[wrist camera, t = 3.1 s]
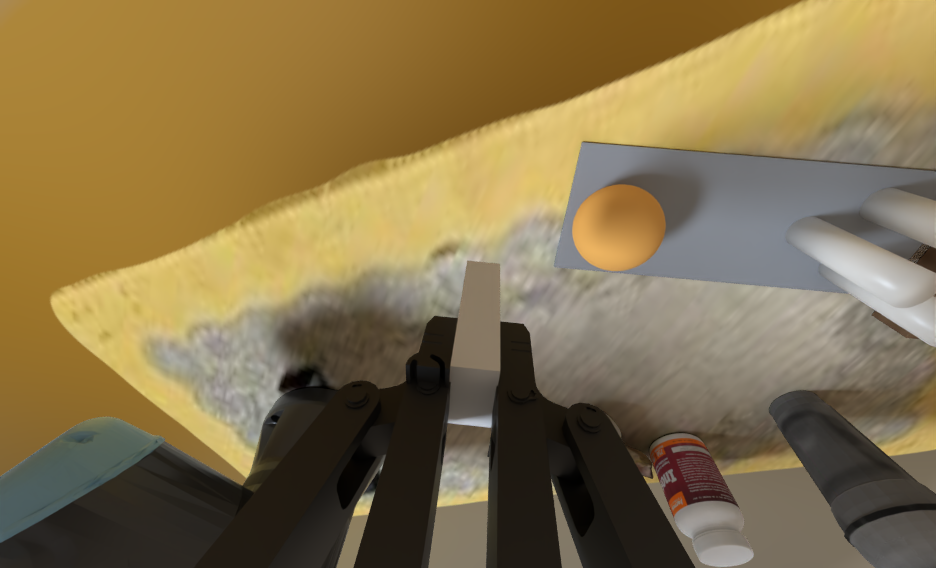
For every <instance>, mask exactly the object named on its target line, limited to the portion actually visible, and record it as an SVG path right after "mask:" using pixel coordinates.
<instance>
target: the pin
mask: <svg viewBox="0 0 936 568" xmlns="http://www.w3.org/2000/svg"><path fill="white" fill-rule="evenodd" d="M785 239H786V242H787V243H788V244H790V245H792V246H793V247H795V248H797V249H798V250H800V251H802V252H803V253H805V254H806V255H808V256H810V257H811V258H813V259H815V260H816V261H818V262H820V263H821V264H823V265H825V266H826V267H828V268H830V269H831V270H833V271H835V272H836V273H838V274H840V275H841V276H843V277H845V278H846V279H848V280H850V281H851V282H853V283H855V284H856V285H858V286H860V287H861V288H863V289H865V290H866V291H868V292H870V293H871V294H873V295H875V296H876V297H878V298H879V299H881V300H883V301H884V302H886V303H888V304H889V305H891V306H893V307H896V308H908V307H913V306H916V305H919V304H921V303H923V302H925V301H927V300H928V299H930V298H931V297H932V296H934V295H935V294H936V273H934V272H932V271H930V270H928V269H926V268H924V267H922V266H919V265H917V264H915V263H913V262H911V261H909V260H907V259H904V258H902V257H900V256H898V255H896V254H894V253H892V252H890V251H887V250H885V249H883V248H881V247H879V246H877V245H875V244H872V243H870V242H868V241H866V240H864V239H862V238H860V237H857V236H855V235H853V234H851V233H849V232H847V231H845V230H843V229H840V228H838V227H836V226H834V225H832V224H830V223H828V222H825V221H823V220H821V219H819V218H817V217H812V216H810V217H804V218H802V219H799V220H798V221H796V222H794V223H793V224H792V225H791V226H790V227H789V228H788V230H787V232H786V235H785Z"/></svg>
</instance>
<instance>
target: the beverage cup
mask: <svg viewBox="0 0 936 568" xmlns="http://www.w3.org/2000/svg"><path fill="white" fill-rule="evenodd" d="M769 413H770V414H771V415H772V416H773V419H774V420H775V422H776V423H777V426H778V428H779V429H780V431H781V432H782V434H783V435H784V437H785V438H786V440H787V441H788V443H789V444H790V446H791V447H792V449H793V450H794V452H795V453H796V455H797V456H798V458H799V460H800V461H801V463H802V464H803V466H804V467H805V469H806V470H807V472H808V473H809V474H810V476H811V478H812V479H813V481H814V482H815V484H816V485H817V487H818V488H819V490H820V491H821V493H822V494H823V496H824V497H825V499H826V500H827V502H828V503H829V505H830V507H831V511H832V513H833V515H834V517H835V519H836V520H837V522H838V524H839V526H840V527H841V529H842V530H843V531H844V533H845V535H844V537H845V538H846V539H847V541H848V542H849V543H850V544H851V545H853V547H855V548H856V549H857V550H858V551H859V552H860V553H861V554H862V556H863V557H864V558H865V559H866V560H867V561H869V563H870V564H872V565H873V566H874V567H875V568H936V494H935V493H934V492H933V491H931V490H930V489H928V488H927V487H926V486H924V485H922V484H920V483H919V482H917V481H916V480H915V479H914V478H913V477H912V476H911V475H909V474H908V473H907V472H906V471H905V470H904V469H903V468H901V467H900V466H899V465H898V464H897V463H896V462H894V461H893V460H892V459H891V458H890V457H889V456H888V455H886V454H885V453H884V452H883V451H882V450H881V449H879V448H878V447H877V446H876V445H875V444H874V443H873V442H871V441H870V440H869V439H868V438H867V437H866V436H864V435H863V434H862V433H861V432H860V431H859V430H858V429H856V428H855V427H854V426H853V425H852V424H851V423H849V422H848V421H847V420H846V419H845V418H844V417H843V416H841V415H840V414H839V413H838V412H837V411H836V410H834V409H833V408H832V407H831V406H829V405H828V404H826V403H825V402H824V401H823V400H821V399H820V398H819V397H818V396H817V395H816V394H814V393H812V392H809V391H795V392H790V393H787V394H785V395H782V396H780V397H779V398H777V399H775V400H774V401H773V402H772V403H771V405H770V407H769Z"/></svg>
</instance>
